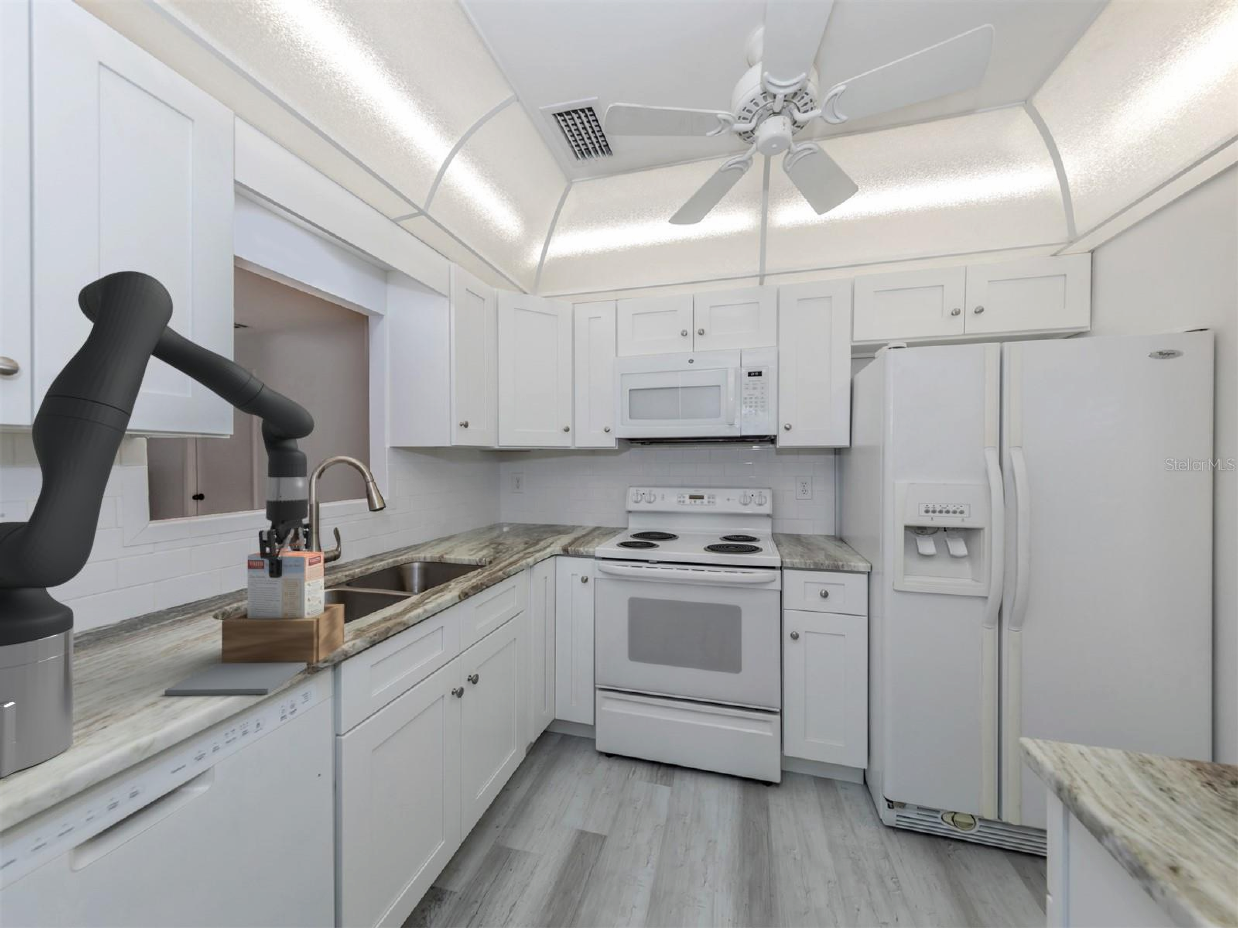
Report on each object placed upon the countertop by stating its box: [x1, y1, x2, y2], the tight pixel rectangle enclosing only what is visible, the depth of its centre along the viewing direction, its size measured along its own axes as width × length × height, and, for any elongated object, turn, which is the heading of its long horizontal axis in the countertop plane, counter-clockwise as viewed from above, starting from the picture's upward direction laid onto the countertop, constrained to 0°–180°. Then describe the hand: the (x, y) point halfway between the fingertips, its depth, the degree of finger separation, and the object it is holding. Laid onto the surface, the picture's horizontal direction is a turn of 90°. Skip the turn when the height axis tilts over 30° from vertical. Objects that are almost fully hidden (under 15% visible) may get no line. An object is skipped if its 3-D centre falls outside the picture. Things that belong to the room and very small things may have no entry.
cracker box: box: [246, 550, 325, 618], centre depth 102 cm, size 14×6×21 cm, turn 82°
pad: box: [164, 662, 308, 696], centre depth 89 cm, size 11×18×1 cm, turn 92°
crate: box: [221, 603, 345, 665], centre depth 102 cm, size 11×19×9 cm, turn 92°
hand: (286, 573), depth 102 cm, fingers closed on cracker box, 6 cm apart
